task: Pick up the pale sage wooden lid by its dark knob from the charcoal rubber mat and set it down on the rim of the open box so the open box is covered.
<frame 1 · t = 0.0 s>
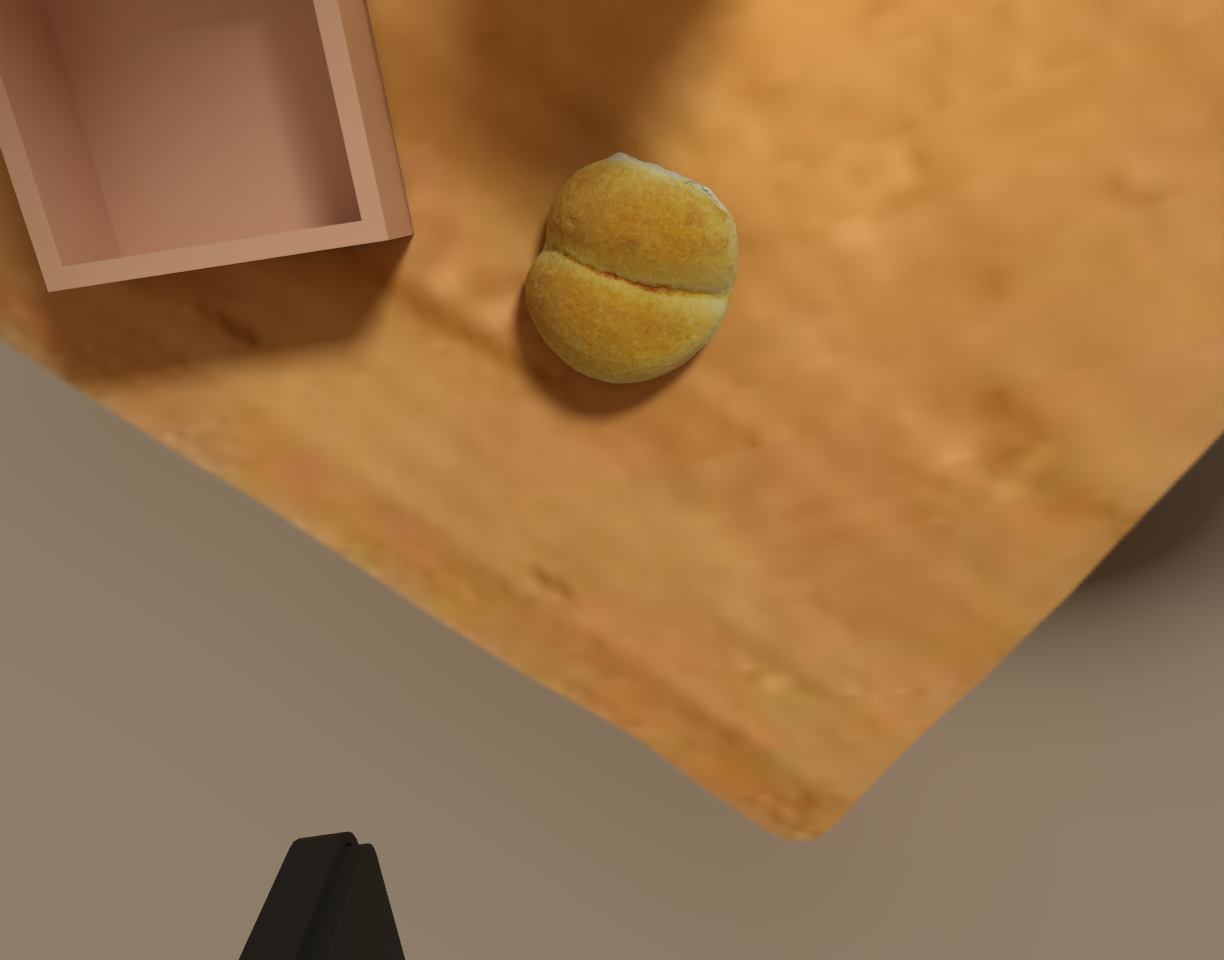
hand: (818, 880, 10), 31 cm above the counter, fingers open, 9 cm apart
bread roll: (629, 267, 39), on the counter
open box: (223, 95, 36), on the counter
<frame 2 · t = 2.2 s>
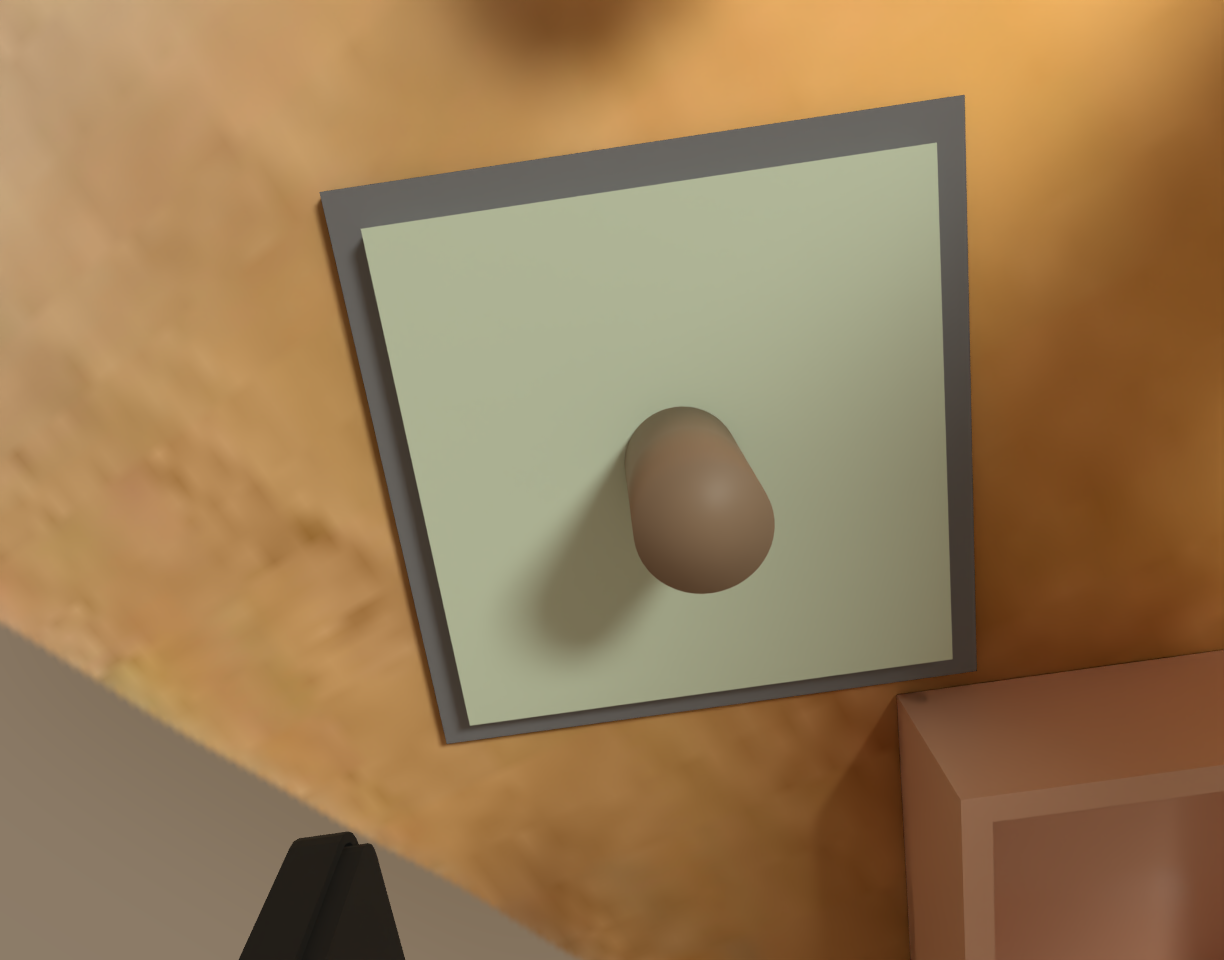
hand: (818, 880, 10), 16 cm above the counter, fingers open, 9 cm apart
lid: (678, 453, 25), resting on mat
mat: (677, 449, 25), on the counter
open box: (1098, 837, 29), on the counter
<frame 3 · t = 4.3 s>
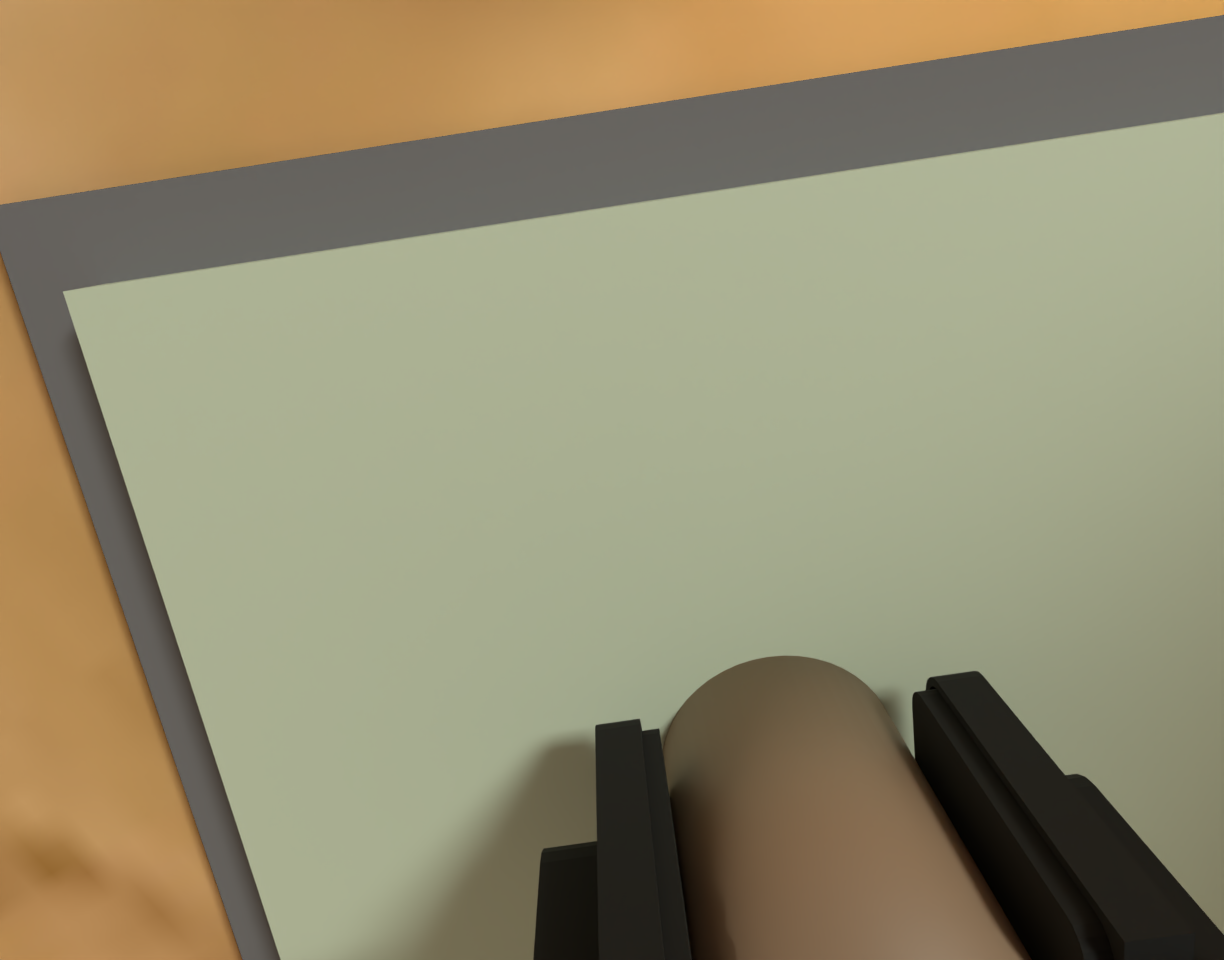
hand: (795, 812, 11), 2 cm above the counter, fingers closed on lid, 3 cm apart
lid: (766, 725, 12), resting on mat, touching gripper
mat: (761, 709, 13), on the counter
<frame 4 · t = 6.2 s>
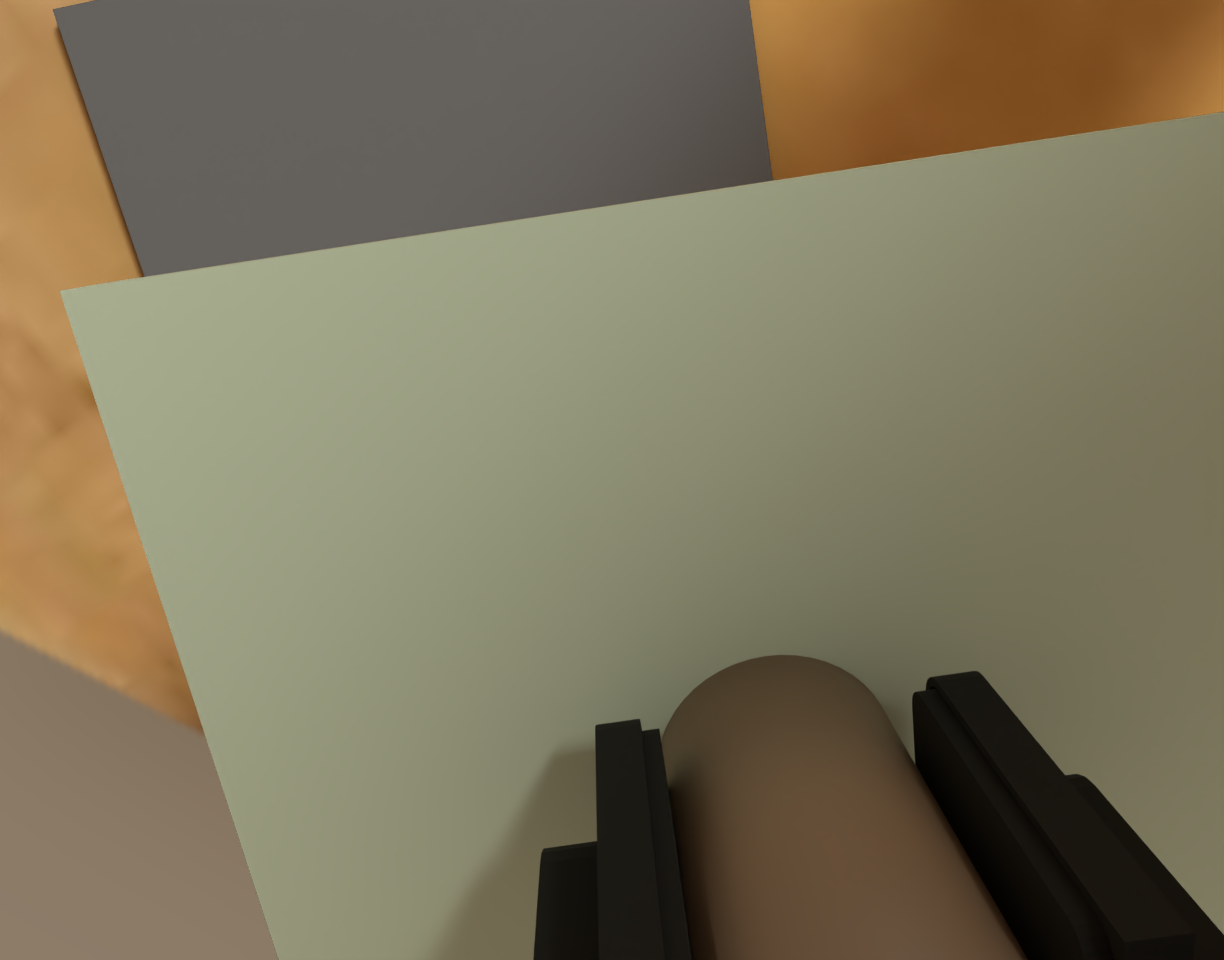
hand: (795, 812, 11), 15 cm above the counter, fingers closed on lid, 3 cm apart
lid: (764, 724, 12), point 13 cm above the counter, touching gripper
mat: (472, 284, 23), on the counter
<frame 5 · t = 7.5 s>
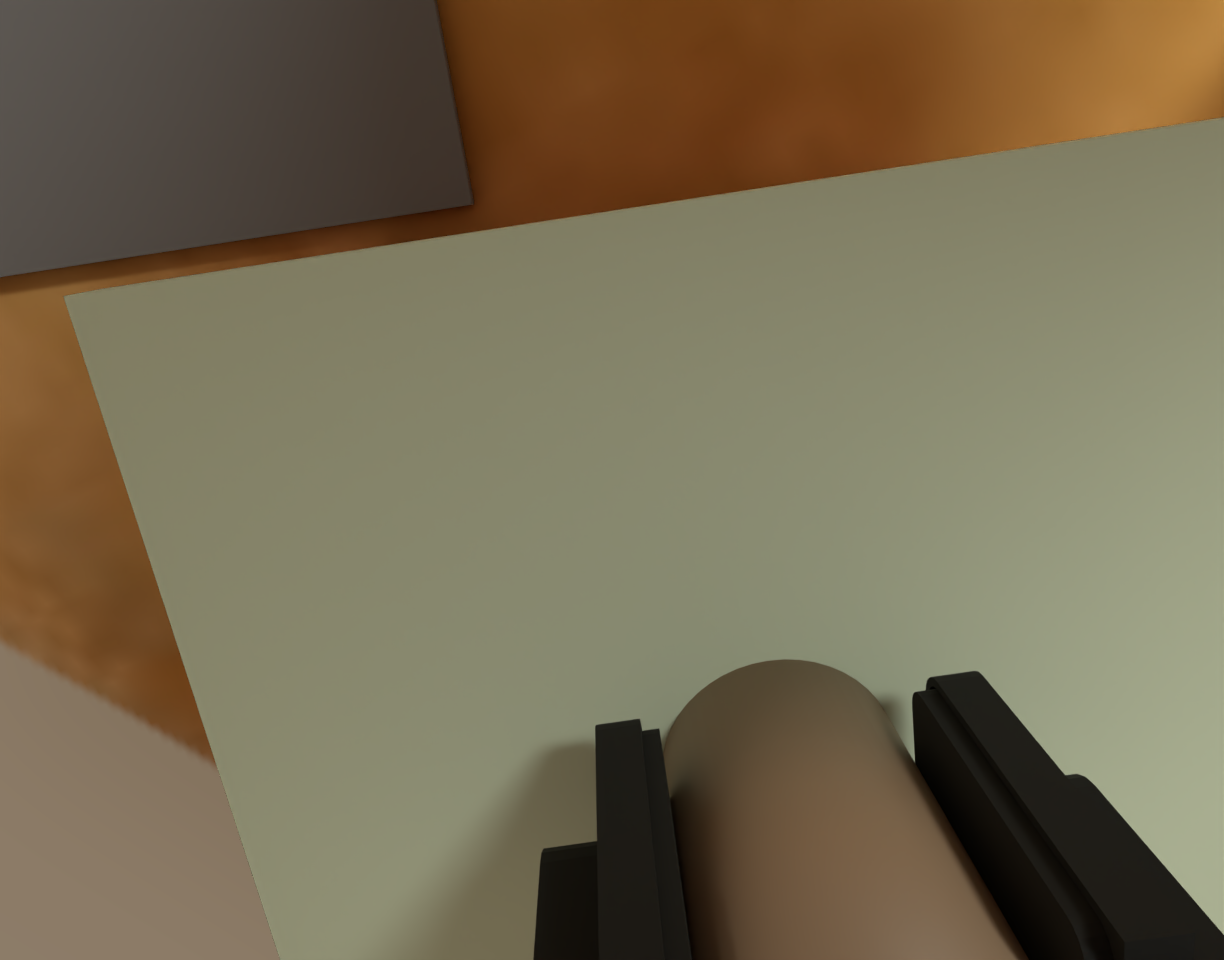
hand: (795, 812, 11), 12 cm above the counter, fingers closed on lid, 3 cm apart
lid: (767, 729, 12), point 10 cm above the counter, touching gripper
when the fingers open (8 cm above the counter, at t = 8.4 s): lid stays where it is, resting on open box.
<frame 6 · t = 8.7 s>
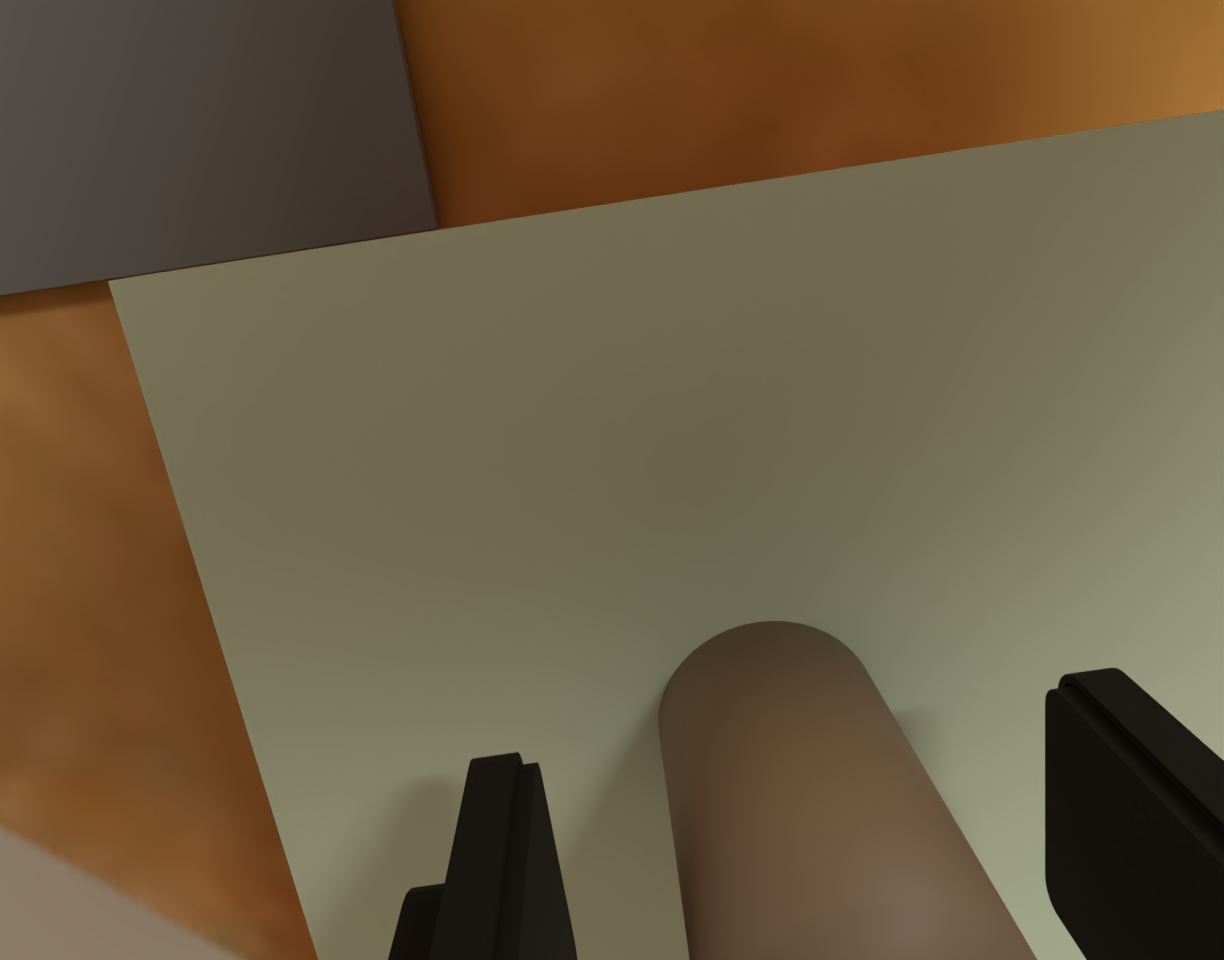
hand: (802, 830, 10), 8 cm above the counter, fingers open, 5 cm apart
lid: (757, 689, 13), point 5 cm above the counter, touching open box
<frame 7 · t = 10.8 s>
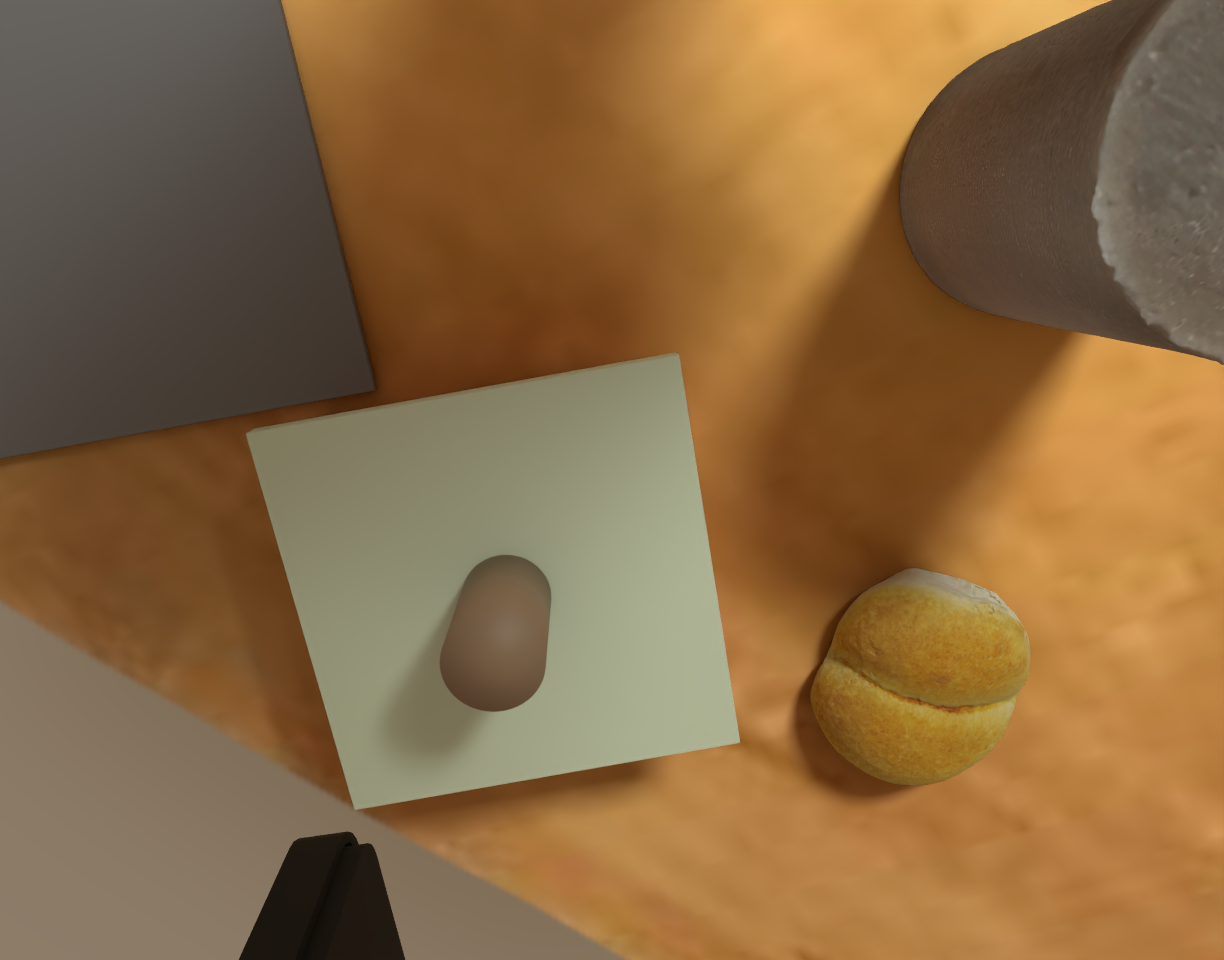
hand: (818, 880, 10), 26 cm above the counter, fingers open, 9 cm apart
lid: (508, 587, 31), point 5 cm above the counter, touching open box
mat: (103, 210, 32), on the counter
pillar candle: (1021, 188, 33), on the counter
bread roll: (907, 659, 38), on the counter
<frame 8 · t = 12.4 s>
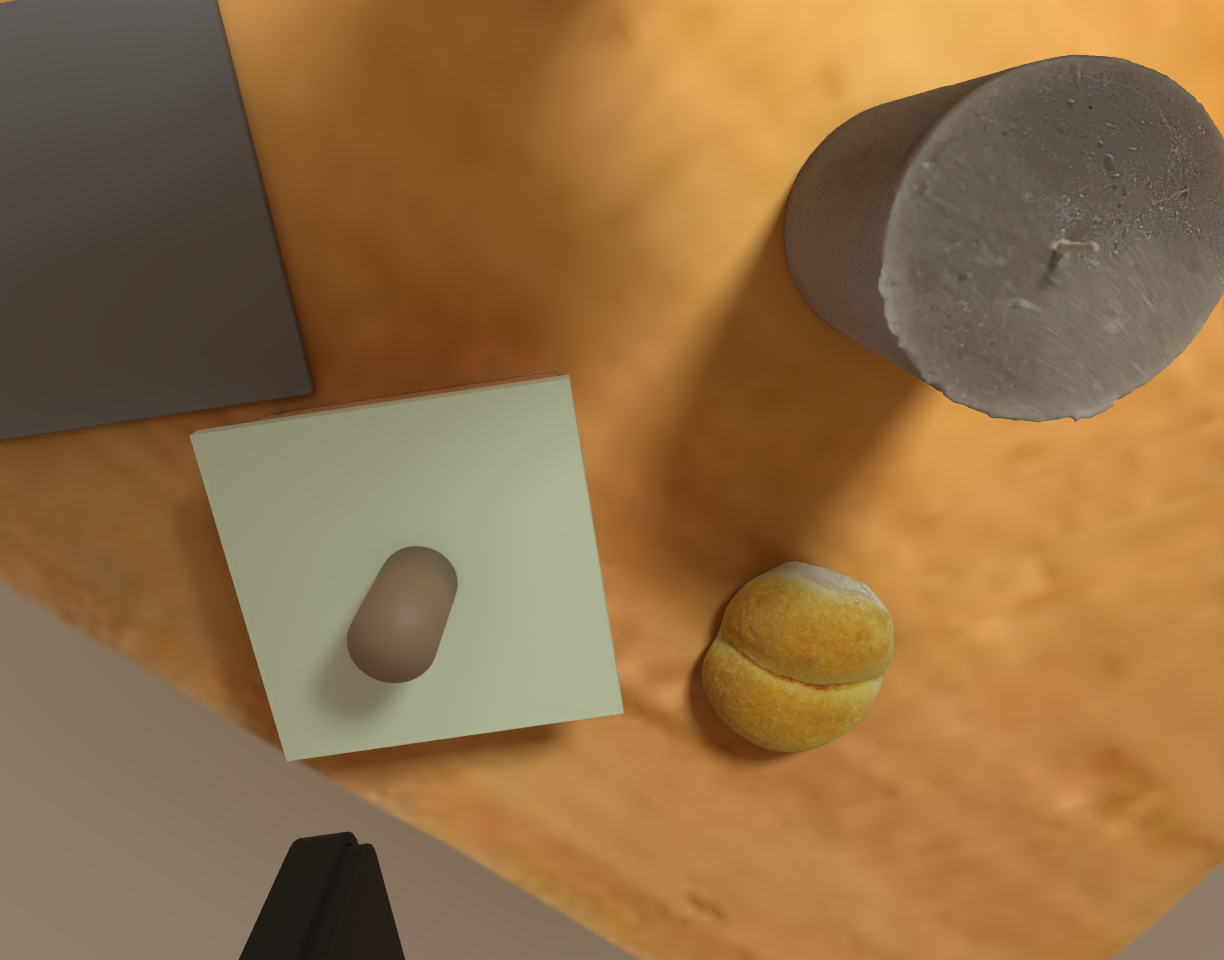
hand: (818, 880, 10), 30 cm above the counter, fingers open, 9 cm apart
lid: (422, 573, 36), point 5 cm above the counter, touching open box
mat: (69, 226, 36), on the counter
pillar candle: (894, 229, 37), on the counter
bread roll: (790, 640, 43), on the counter
open box: (441, 530, 40), on the counter
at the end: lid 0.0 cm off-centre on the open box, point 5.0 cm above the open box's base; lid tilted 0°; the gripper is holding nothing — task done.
